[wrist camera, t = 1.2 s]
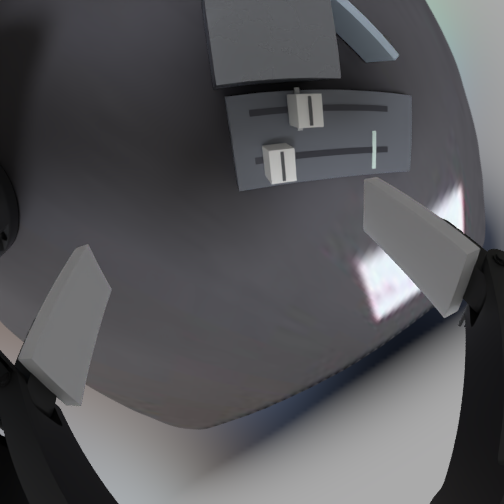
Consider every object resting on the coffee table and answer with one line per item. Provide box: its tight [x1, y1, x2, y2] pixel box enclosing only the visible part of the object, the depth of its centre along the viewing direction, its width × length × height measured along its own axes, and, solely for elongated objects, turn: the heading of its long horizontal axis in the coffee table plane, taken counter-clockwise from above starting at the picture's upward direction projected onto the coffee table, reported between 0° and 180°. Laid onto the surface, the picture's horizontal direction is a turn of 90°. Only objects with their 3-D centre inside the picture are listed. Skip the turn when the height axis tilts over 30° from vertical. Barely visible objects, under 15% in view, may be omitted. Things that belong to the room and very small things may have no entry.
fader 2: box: [287, 94, 324, 128], centre depth 23 cm, size 2×3×3 cm
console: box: [224, 87, 412, 191], centre depth 27 cm, size 22×10×2 cm, turn 97°
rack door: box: [330, 0, 399, 63], centre depth 18 cm, size 3×10×7 cm, turn 52°
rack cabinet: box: [202, 0, 341, 90], centre depth 18 cm, size 10×10×8 cm
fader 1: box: [262, 143, 297, 184], centre depth 25 cm, size 2×3×3 cm
